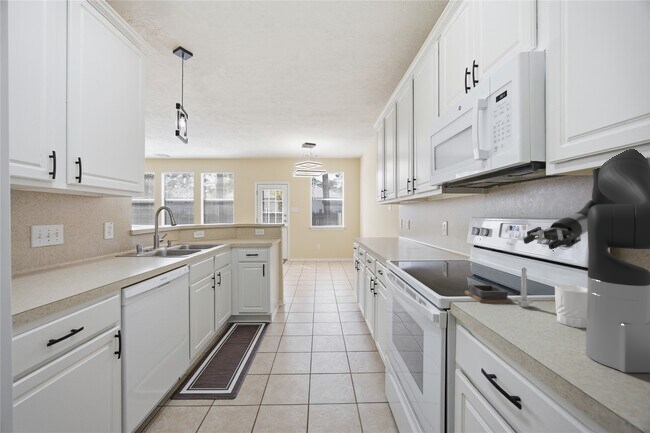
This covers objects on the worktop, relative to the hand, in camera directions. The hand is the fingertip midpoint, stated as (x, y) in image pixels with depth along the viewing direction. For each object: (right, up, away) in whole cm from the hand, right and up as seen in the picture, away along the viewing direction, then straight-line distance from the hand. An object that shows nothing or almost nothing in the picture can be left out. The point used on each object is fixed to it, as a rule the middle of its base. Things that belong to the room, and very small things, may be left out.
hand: (536, 243), depth 96 cm
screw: (-6, -21, -2) cm, 22 cm away
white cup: (-2, -21, -16) cm, 26 cm away
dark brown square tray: (-13, -20, +7) cm, 25 cm away
